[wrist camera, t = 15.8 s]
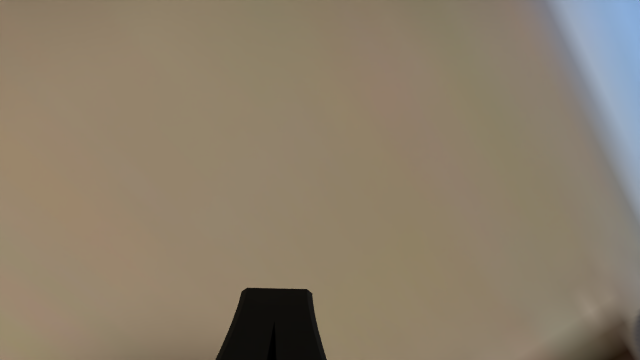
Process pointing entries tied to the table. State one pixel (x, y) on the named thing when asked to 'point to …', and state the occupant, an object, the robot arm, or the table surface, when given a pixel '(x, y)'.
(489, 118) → the table surface
